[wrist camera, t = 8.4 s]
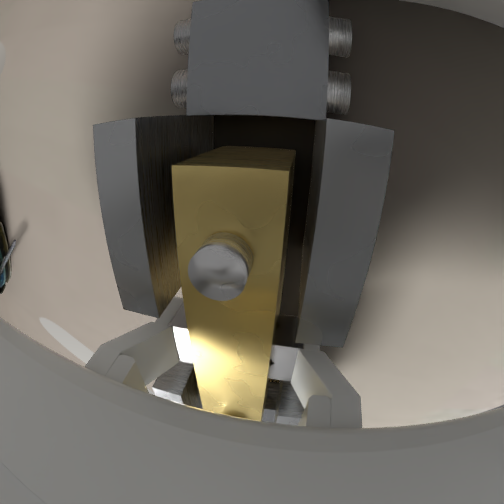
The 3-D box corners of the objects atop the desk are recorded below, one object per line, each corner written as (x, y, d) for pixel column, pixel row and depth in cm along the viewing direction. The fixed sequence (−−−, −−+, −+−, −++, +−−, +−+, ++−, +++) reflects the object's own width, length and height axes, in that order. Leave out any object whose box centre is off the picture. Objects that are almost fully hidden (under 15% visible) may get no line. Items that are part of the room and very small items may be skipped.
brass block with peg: (295, 150, 8) (286, 180, 4) (269, 381, 14) (254, 456, 10) (224, 145, 9) (151, 173, 5) (227, 374, 14) (204, 445, 10)
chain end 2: (315, 327, 12) (311, 419, 8) (289, 414, 17) (280, 475, 12) (194, 309, 13) (152, 387, 9) (207, 400, 18) (186, 457, 13)
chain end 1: (352, 24, 6) (387, -44, 2) (331, 253, 10) (342, 347, 6) (188, 23, 7) (107, -22, 3) (187, 236, 11) (123, 309, 7)
